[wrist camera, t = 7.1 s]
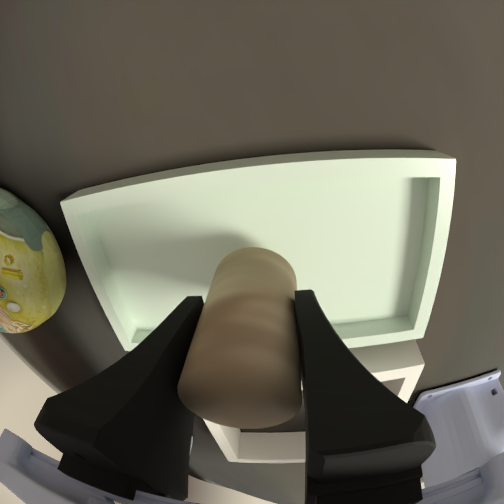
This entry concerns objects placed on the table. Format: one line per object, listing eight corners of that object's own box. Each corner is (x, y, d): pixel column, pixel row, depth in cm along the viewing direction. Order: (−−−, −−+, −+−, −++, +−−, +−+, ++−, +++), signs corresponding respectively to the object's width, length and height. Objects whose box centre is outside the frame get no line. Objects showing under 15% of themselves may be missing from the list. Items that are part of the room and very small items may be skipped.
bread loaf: (293, 243, 12) (300, 363, 7) (298, 312, 13) (302, 428, 8) (206, 250, 12) (159, 362, 7) (222, 316, 14) (196, 425, 9)
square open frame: (410, 328, 16) (424, 364, 14) (374, 427, 23) (379, 453, 20) (193, 344, 18) (181, 380, 16) (232, 435, 25) (228, 461, 22)
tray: (436, 150, 11) (456, 159, 9) (413, 317, 16) (422, 337, 14) (79, 190, 14) (59, 202, 12) (135, 331, 18) (125, 350, 17)
